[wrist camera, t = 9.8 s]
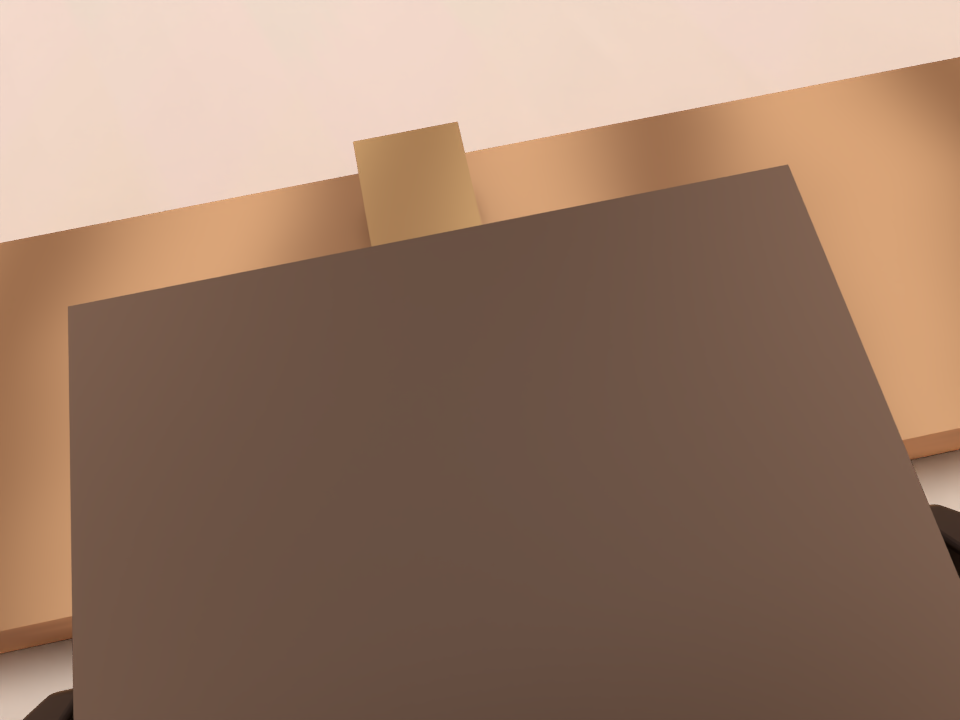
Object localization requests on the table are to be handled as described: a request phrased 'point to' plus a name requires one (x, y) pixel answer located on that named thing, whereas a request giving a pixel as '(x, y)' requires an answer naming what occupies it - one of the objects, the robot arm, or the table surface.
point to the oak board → (502, 196)
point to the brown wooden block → (504, 474)
